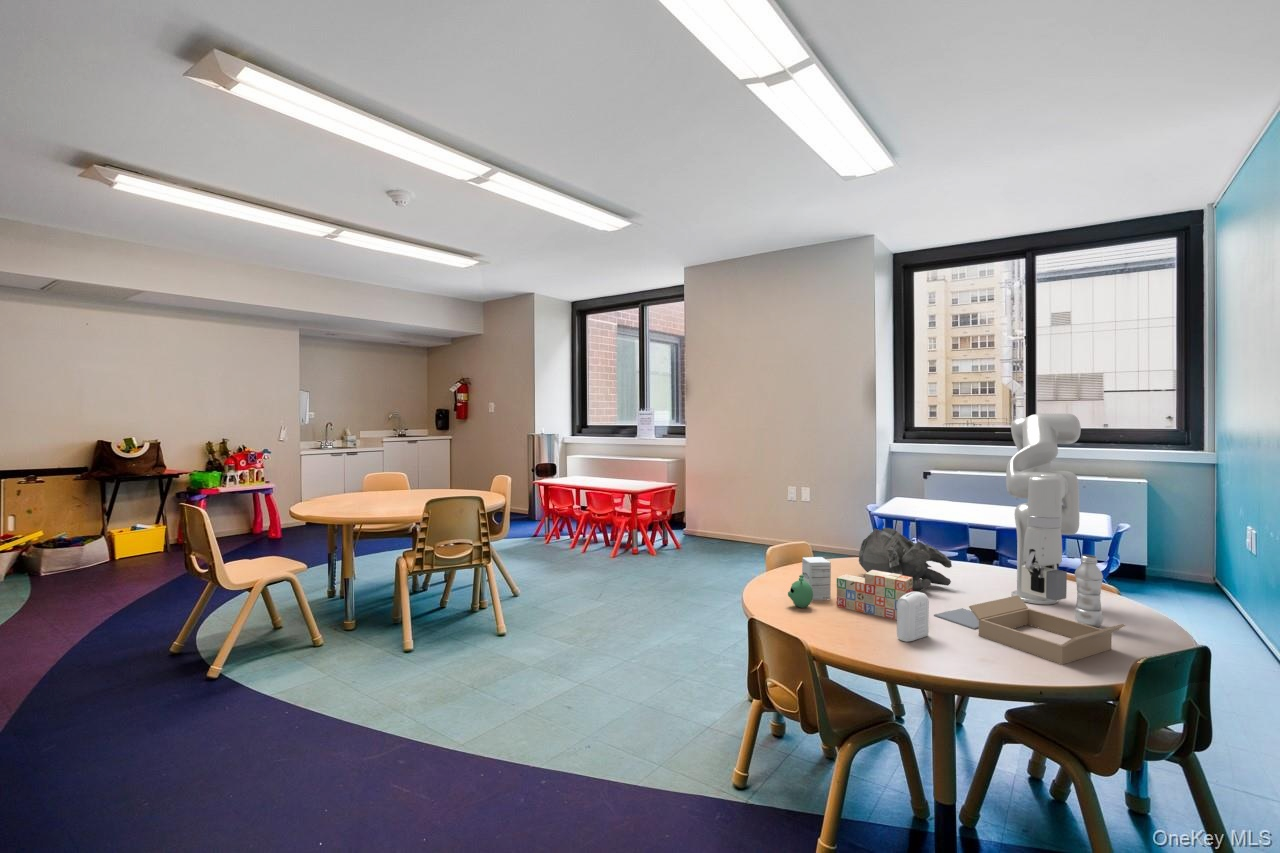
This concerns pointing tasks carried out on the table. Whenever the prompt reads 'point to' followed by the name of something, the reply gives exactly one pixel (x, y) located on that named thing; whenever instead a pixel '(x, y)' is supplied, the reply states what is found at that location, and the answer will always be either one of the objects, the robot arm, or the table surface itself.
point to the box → (1047, 583)
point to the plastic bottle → (1088, 592)
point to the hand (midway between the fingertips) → (1043, 589)
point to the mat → (960, 617)
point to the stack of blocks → (873, 592)
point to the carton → (1015, 613)
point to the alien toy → (801, 593)
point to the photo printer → (912, 616)
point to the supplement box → (817, 576)
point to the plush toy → (902, 558)
